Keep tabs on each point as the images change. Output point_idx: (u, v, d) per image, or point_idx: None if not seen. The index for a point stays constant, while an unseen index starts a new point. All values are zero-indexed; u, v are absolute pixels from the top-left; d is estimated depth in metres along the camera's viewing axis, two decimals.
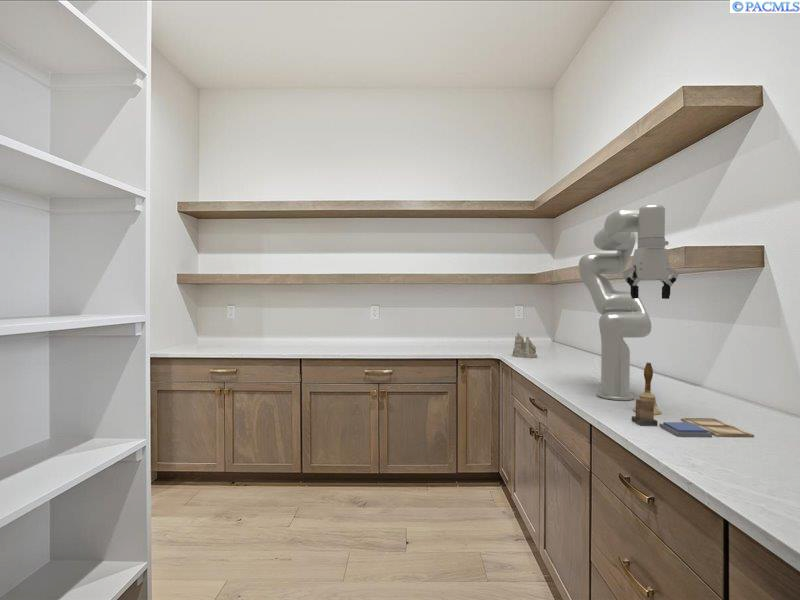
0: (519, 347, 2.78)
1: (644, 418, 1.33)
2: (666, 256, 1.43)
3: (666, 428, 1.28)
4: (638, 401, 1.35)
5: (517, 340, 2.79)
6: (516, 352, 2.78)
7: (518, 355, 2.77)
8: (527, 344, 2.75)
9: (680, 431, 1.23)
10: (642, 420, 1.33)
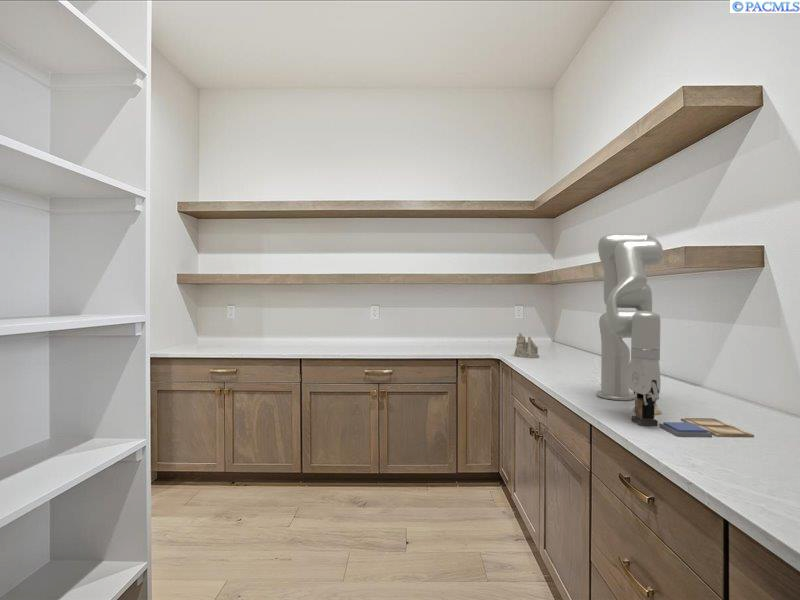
0: (521, 347, 2.78)
1: None
2: None
3: (666, 428, 1.28)
4: (638, 401, 1.35)
5: (519, 340, 2.79)
6: (518, 352, 2.78)
7: (520, 355, 2.76)
8: (529, 344, 2.75)
9: (680, 431, 1.23)
10: (642, 420, 1.33)
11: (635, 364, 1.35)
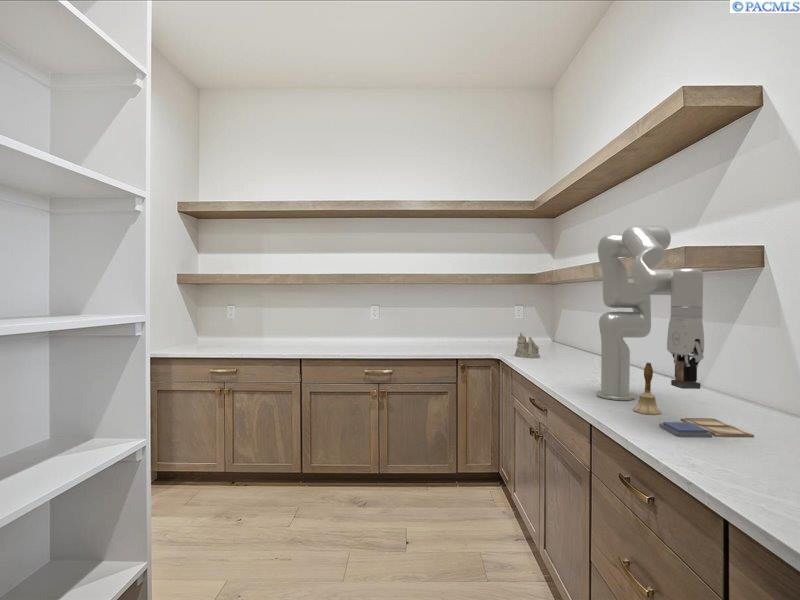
0: (522, 347, 2.78)
1: None
2: None
3: (666, 428, 1.28)
4: (679, 363, 1.27)
5: (520, 340, 2.79)
6: (519, 352, 2.78)
7: (521, 355, 2.76)
8: (530, 344, 2.75)
9: (680, 431, 1.23)
10: (684, 382, 1.25)
11: (676, 324, 1.27)
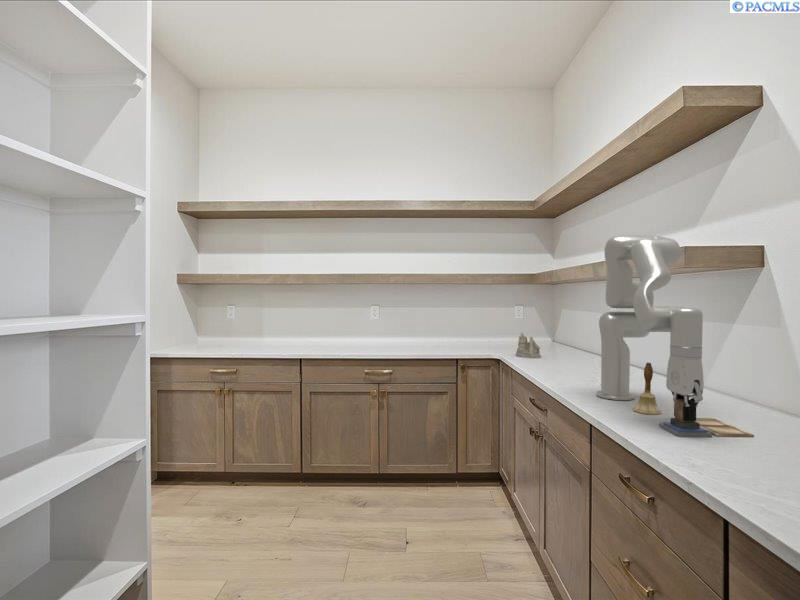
0: (523, 347, 2.78)
1: None
2: None
3: (666, 428, 1.28)
4: (678, 402, 1.27)
5: (521, 340, 2.79)
6: (520, 352, 2.78)
7: (522, 355, 2.76)
8: (531, 344, 2.74)
9: (680, 431, 1.23)
10: (683, 422, 1.25)
11: (675, 363, 1.27)
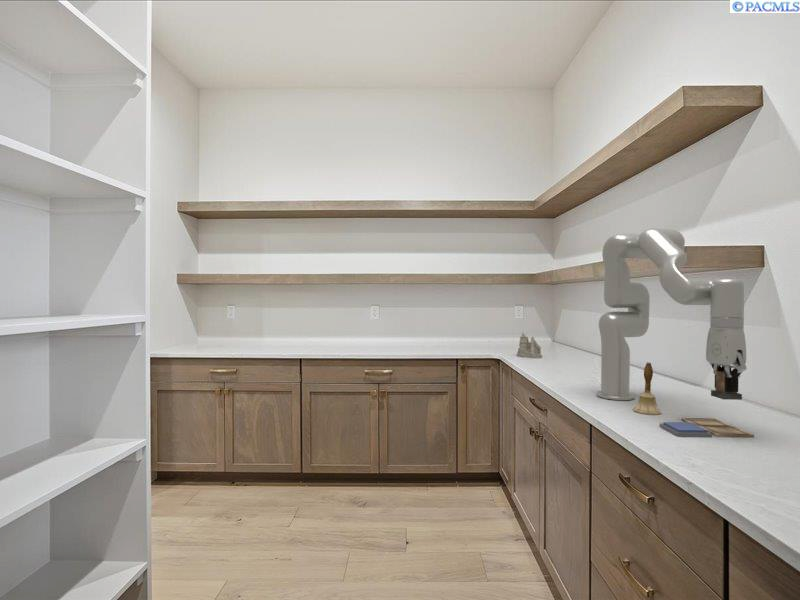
0: (524, 347, 2.78)
1: None
2: None
3: (666, 428, 1.28)
4: (719, 373, 1.27)
5: (522, 340, 2.79)
6: (521, 352, 2.78)
7: (523, 355, 2.76)
8: (532, 344, 2.74)
9: (680, 431, 1.23)
10: (725, 393, 1.25)
11: (716, 334, 1.27)
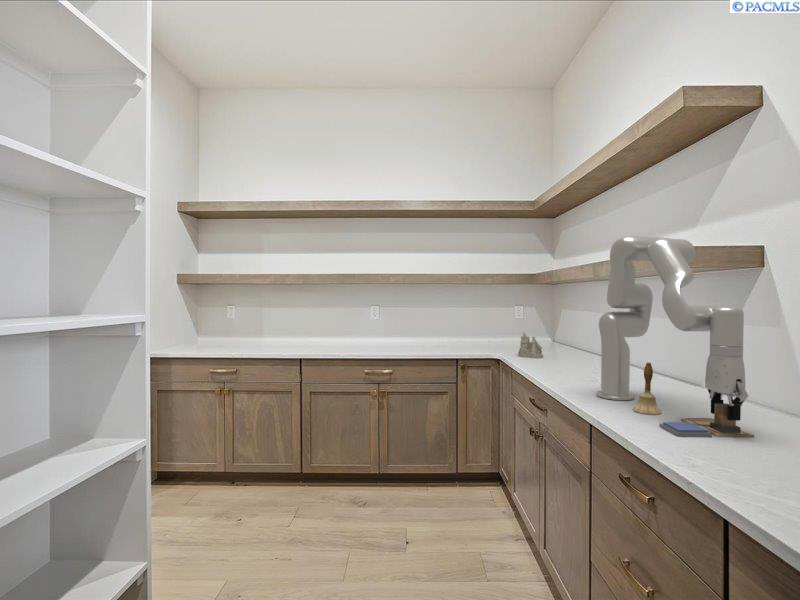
0: (525, 347, 2.78)
1: (726, 424, 1.25)
2: None
3: (666, 428, 1.28)
4: (718, 406, 1.27)
5: (523, 340, 2.79)
6: (522, 352, 2.78)
7: (524, 355, 2.76)
8: (533, 344, 2.74)
9: (680, 431, 1.23)
10: (724, 426, 1.25)
11: (715, 362, 1.27)
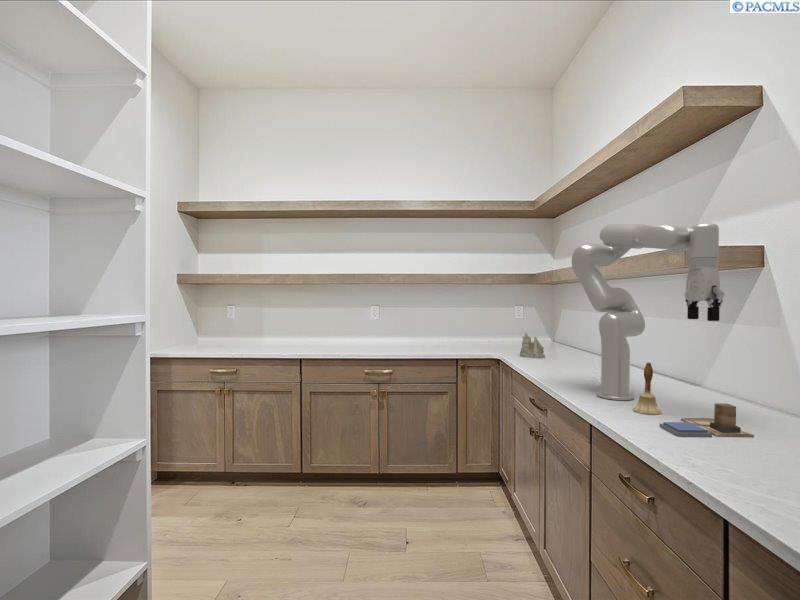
0: (527, 347, 2.78)
1: (726, 424, 1.25)
2: None
3: (666, 428, 1.28)
4: (718, 406, 1.27)
5: (525, 340, 2.79)
6: (524, 352, 2.78)
7: (526, 355, 2.76)
8: (535, 344, 2.74)
9: (680, 431, 1.23)
10: (724, 426, 1.25)
11: (694, 274, 1.41)
